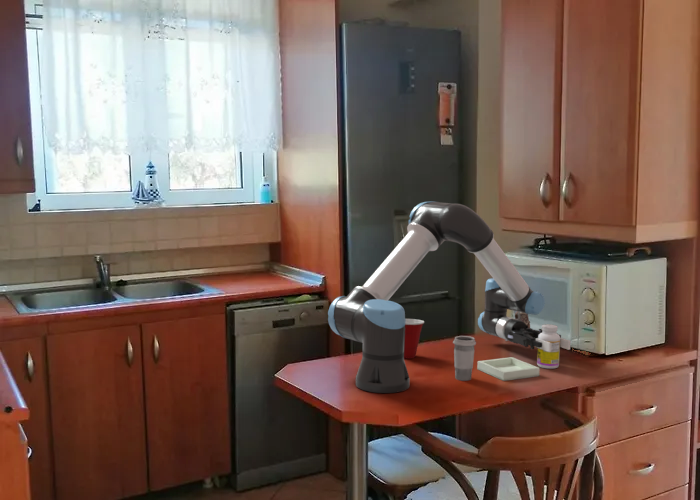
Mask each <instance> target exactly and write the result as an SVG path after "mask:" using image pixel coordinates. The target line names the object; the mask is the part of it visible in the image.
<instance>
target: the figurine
mask: <svg viewBox="0 0 700 500" xmlns="http://www.w3.org/2000/svg"><path fill="white" fill-rule="evenodd" d="M514 319H516V320H519V321H522V322H524V323H526V324H527V326H528V328H531V321H530V318H529V314H526V313H522V312H518V311H515V314H514Z"/></svg>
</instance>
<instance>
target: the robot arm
mask: <svg viewBox="0 0 700 500" xmlns="http://www.w3.org/2000/svg"><path fill="white" fill-rule="evenodd" d="M406 229H407V234H406V235H405V236H404V237H403V238H402V239H401V240H400V241H399V243H398V244H397V245H396V246H395V248H394V249H393V250H392V251H391V252H390V254H388V256H386V258H385V259H384V261H383V262H382V263H381V264H380V265H379V266H378V267H377V268H376V269H375V270H374V272H373V273H372V274H371V275H370V277H369V278H368V279H367V280H366V281H365V282H364V284H363V285H362V286H355V287H353V289H352V290H351V291H350V292H349V293H348V294H347V296H345V295H342V296H337V297H336V298H335V299H334V300H333V301H332V302H331V304H330V305H329V309H328V311H327V315H328V318H327V321H328V325H329V327H330V329H331V330H332V332H333V333H335V334H336V335H338V336H340V337H342V338H344V339H348V340H350V341H351V340H352V341H355V342H357V343H360V344H362V353H361V354H362V357H361V360H360V363H359V367H358V369H357V372H356V375H355V386H356V388H358V389H360V390H362V391H365V392H368V393H378V394H393V393H401V392H404V391H407V390H408V389H409V388H410V382H411V381H410V380H411V379H410V375H409V372H408V369H407V365H406V361H405V358H404V343H405V324H406V323H405V322H406V320H405V319H406V314H405V313H406V312H405V309H404V307H403V306H402V305H401V304H399V303H397V302H395V301H391V300H390V299H391V297H392V296H393V295H394V294H396V291H398V289H399V288H400V287H401V285H402V284H404V282H405V280H406V279H407V278H409V276H410V275H411V273H413V271H414V270H415V269H416V268H417V266H418V265H419V263H421V262H422V260H423V259H424V258H425V257H426V255H427V254H428V253H429V252H434V251H437V250H438V249H439V247H440V246H441V245H443V243H444V242H445V241H446V242H453V243H457V244H458V245H460V246H462V247H464V248H465V249H466V251H467V252H469V254H470V253H472V254H474V255H475V257H476V259H477V260H478V261H479V262H480V263H481V265H482V266H483V268H485V270H486V271H487V272H488V273H489V275H490V276H491V277H492V278H488V279H487V280H486V282H485V289H484V311H483V312H481V313H480V314H479V316H478V318H477V325H478V327H479V329H480V330H481V331H483V332H484V333H486V334H488V335H489V336H490V335H491V336H494V337H497V338H500V339H503V340H504V341H505V342H510V343H514V344H516V345H517V344H518V345H521V346H523V347H526V348H528V347H530V349H531V350H535V348H537V349H538V348H539V349H542V350H545V351H548V352H551V346H552V343H550V342H547V341H544V340H541V339H538V335H539V334H540V333H542V328H538V329H533V328H531V327H530V328H528V326H527V324H526V323H524V322H522V321H519V320H516V319H515V317H514V318H513V317H509V316H507V313H508V310H510V311H514V312H517V311H518V312H522V313H526V314H528V315H534V316H536V315H537V316H538V315H539V314H541V313H542V311H543V310H544V308H545V304H546V300H545V296H544V295H543V294H542V292H539V291H537V290H536V291H534V290H532V289H531V287H530V286H529V284H528V283H527V282H526V281H525V279H524V278H523V277H522V275H521V274H520V273H519V271H518V270H517V268H516V267H515V265H514V264H513V263H512V262H511V260H510V258H508V256H507V255H506V253H505V252H504V251H503V249H502V248H501V247H500V245H499V244H498V243H497V241H496V240H495V238H494V237H495V234H494V232H493V230H492V229H491V227H490V226H489V225H488V223H486V221H485V219H483V218H482V217H481V216H480V215H479V214H478V213H477V212H475V211H474V210H473V209H472V208H470V207H468V206H467V205H464V204H461V203H452V202H451V203H450V202H449V203H448V202H441V201H440V202H439V201H436V200H435V201H432V200H431V201H424V202H420V203H418V204H417V205H416V206H414V207H413V209H412V210H411V211H410V214H409V219H408V225H407V226H406ZM557 334H558V335H559V336H560V348H562V349H564V350H565V349H566V350H571V340H569V339H566V338H562V335H561V334H559V333H557Z"/></svg>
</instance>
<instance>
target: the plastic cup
mask: <svg viewBox="0 0 700 500" xmlns="http://www.w3.org/2000/svg"><path fill="white" fill-rule="evenodd" d="M405 320H406V322H405V323H406V324H405V343H404V359H414V358H416V356H417V351H418V347H419V342H420V336H421V332H422V328H423V325H424V324H425V321H424V320H421V319H415V318H405Z"/></svg>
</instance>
